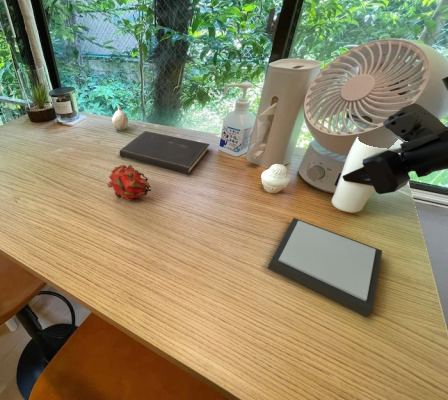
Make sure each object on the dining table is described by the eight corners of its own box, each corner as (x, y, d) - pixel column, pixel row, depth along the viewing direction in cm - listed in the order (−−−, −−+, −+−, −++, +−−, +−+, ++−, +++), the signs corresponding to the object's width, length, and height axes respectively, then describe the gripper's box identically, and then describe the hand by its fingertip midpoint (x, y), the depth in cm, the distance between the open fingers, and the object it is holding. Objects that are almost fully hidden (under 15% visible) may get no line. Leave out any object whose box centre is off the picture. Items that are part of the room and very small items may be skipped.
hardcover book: (145, 136, 90) (145, 130, 89) (208, 150, 79) (209, 143, 78) (119, 157, 80) (119, 150, 79) (187, 175, 70) (188, 168, 68)
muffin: (258, 180, 66) (266, 156, 61) (285, 184, 63) (295, 160, 59) (256, 194, 61) (264, 169, 57) (285, 199, 59) (295, 174, 55)
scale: (376, 257, 45) (384, 248, 44) (365, 317, 38) (374, 308, 36) (290, 224, 53) (294, 215, 52) (267, 268, 45) (270, 259, 44)
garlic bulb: (132, 126, 98) (130, 105, 93) (123, 133, 94) (121, 111, 89) (117, 124, 101) (115, 104, 96) (108, 130, 97) (106, 109, 92)
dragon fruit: (111, 189, 70) (148, 209, 65) (94, 189, 62) (134, 211, 57) (123, 160, 68) (162, 178, 63) (107, 156, 60) (150, 176, 56)
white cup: (329, 213, 53) (361, 147, 44) (323, 194, 58) (351, 132, 49) (370, 218, 51) (413, 150, 42) (360, 198, 56) (397, 134, 47)
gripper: (479, 79, 39) (364, 125, 54) (414, 106, 34) (305, 149, 48) (513, 144, 39) (387, 173, 53) (453, 183, 33) (330, 203, 48)
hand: (354, 173), depth 51 cm, fingers closed on white cup, 6 cm apart
